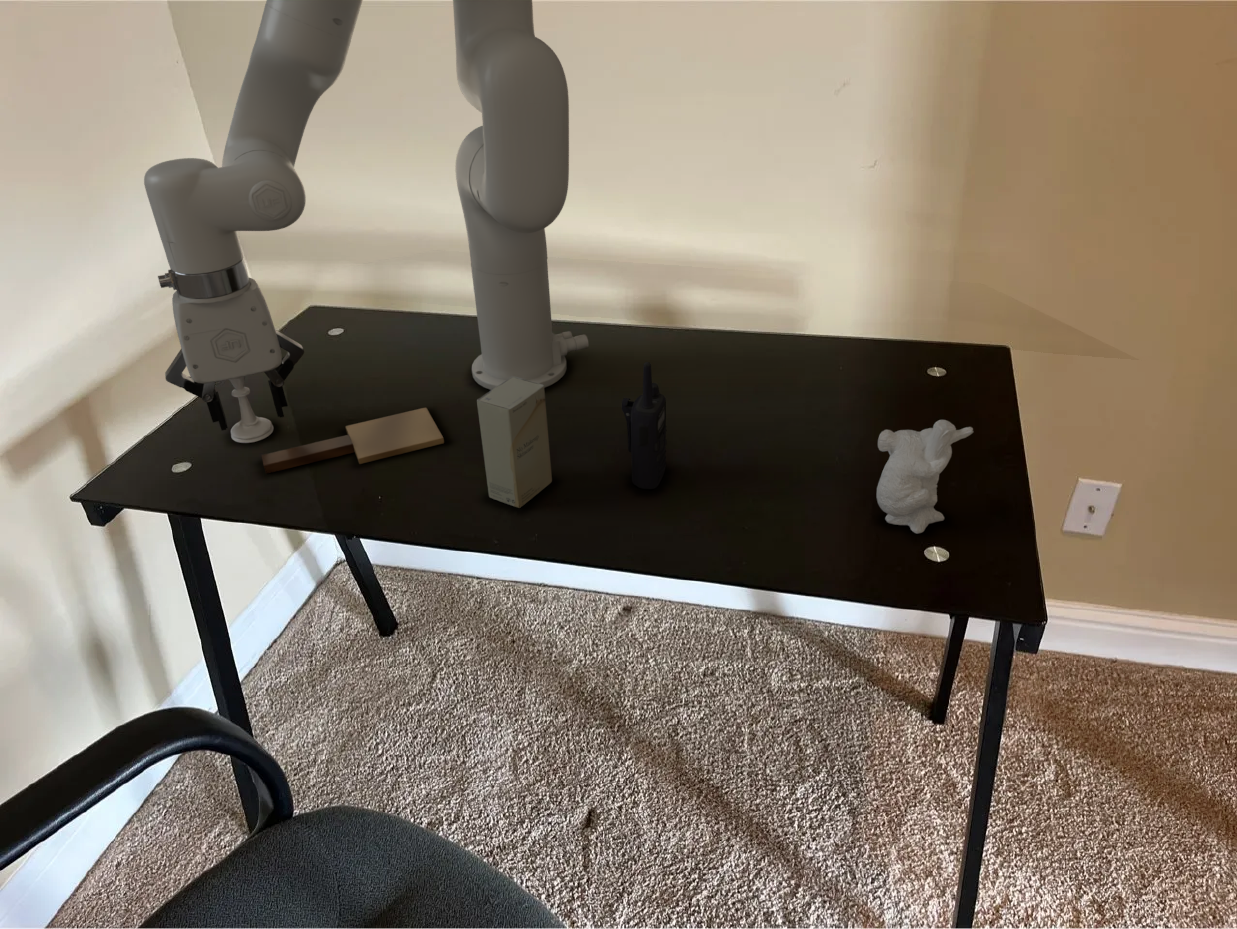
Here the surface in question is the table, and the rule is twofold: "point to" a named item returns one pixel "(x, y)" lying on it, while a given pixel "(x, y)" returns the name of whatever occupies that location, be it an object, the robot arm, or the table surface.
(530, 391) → the cosmetic box
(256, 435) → the chess piece
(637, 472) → the two-way radio
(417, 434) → the spatula
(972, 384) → the table surface
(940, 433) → the koala figurine
